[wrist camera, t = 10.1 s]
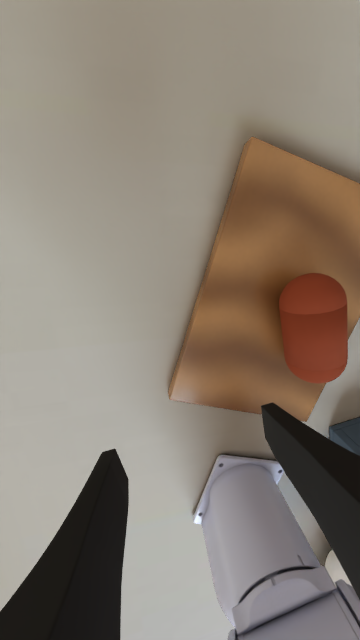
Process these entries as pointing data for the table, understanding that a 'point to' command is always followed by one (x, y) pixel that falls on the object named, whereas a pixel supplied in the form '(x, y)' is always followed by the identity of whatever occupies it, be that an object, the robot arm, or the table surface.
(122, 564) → the robot arm
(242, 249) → the oak board
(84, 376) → the table surface
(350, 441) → the low basket
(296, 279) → the sweet potato
